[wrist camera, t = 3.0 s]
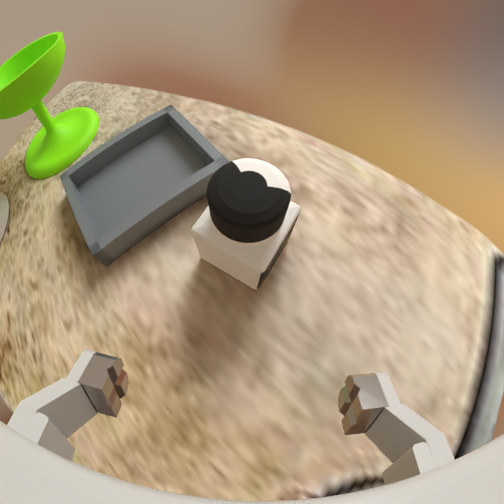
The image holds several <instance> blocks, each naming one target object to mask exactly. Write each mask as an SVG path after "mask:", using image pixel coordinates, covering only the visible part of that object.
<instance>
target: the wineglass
mask: <svg viewBox="0 0 504 504" xmlns="http://www.w3.org/2000/svg"><path fill="white" fill-rule="evenodd" d="M64 54H65V43H64V38H63V34H62V32H55V33H51V34H49V35H46V36H44V37H42V38H40V39H38V40H36V41H34V42H32V43H31V44H29V45H27V46H26V47H24V48H23V49H21V50H20V51H19V52H17V53H16V54H15V55H13V56H12V57H11V58H9V59H8V60H7V61H6V62H5V63H4V64H3V65H1V66H0V119H8V118H11V117H15V116H17V115H20V114H23V113H24V112H26V111H28V110H29V109H31V108H32V109H33V111H34V112H35V114H36V116H37V117H38V119H39V120H40V122H41V123H42V125H43V127H42V128H41V129H40V130H39V132H38V133H37V134H36V135H35V137H34V138H33V140H32V141H31V143H30V145H29V147H28V150H27V152H26V157H25V169H26V171H27V173H28V175H29V176H31V177H32V178H34V179H43V178H47V177H51V176H53V175H55V174H57V173H58V172H60V171H62V170H63V169H65V168H66V167H68V166H69V165H70V164H72V163H73V162H74V161H75V160H76V159H77V158H78V157H79V156H80V155H81V154H82V153H83V152H84V151H85V149H86V148H87V147H88V146H89V145H90V143H91V141H92V140H93V138H94V136H95V135H96V132H97V129H98V126H99V118H98V115H97V113H96V112H95V111H93V110H92V109H90V108H85V107H78V108H72V109H69V110H66V111H64V112H62V113H60V114H58V115H57V116H55V117H54V118H53V119H52V117H51V116H50V114H49V112H48V111H47V109H46V107H45V106H44V104H43V102H42V101H41V99H42V98H43V97H44V96H45V95H46V94H47V93H48V92H49V91H50V89H51V88H52V86H53V84H54V83H55V81H56V79H57V77H58V76H59V73H60V70H61V67H62V64H63V61H64Z"/></svg>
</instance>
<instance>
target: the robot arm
mask: <svg viewBox="0 0 504 504" xmlns="http://www.w3.org/2000/svg"><path fill="white" fill-rule="evenodd" d="M8 214H9V203H8V199H7V196H6V195H5V194H4V193H2V192H0V242H1V240H2V237H3V235H4V232H5V228H6V225H7V220H8ZM123 365H124V364H123V362H122V359H120V358H117V357H113V356H109V355H105V354H101V353H98V352H94V351H90V350H84V351H83V352H82V353H81V355H80V356H79V358H78V360H77V361H76V363H75V365H74V366H73V368H72V370H71V371H70V373H69V375H68V376H67V378H66V379H65V378H62V379H60V380H58V381H57V382H55V383H53V384H51V385H49V386H48V387H46V388H44V389H42V390H40V391H39V392H37V393H35V394H33V395H31V396H29V397H28V398H26V399H24V400H22V401H20V403H19V405H18V407H17V408H16V410H15V412H14V414H13V415H12V417H11V419H10V421H9V423H8V425H5V424H4V423H2V422H1V421H0V504H504V434H502V435H501V436H499V437H497V438H496V439H494V440H492V441H491V442H489V443H487V444H485V445H483V446H482V447H480V448H478V449H476V450H474V451H472V452H470V453H468V454H466V455H464V456H462V457H460V458H458V459H456V460H454V457H453V454H452V452H451V449H450V447H449V444H448V442H447V439H446V437H445V434H444V433H442V432H441V431H439V430H438V429H437V428H435V427H434V426H433V425H431V424H430V423H429V422H427V421H426V420H425V419H423V418H422V417H421V416H419V415H418V414H417V413H415V412H414V411H413V410H411V409H410V408H409V407H407V406H406V405H405V404H400V401H399V399H398V396H397V394H396V392H395V389H394V387H393V385H392V382H391V380H390V378H389V375H388V374H387V373H386V372H382V373H369V374H358V375H349V376H348V377H347V378H346V380H345V384H346V386H345V387H343V388H342V389H341V391H340V393H339V397H338V407H339V412H341V413H342V414H343V415H344V418H343V419H342V425H343V429H344V434H345V435H351V434H360V433H365V434H366V435H367V436H368V438H369V439H370V440H371V441H372V442H373V443H374V444H375V445H376V446H377V447H378V448H379V449H380V450H381V451H382V452H383V453H384V455H385V456H386V457H387V458H388V459H389V460H390V461H391V462H392V463H393V464H392V465H391V466H389V467H388V468H387V469H386V470H385V471H384V472H383V473H382V474H383V478H384V483H385V485H384V486H380V487H376V488H372V489H367V490H363V491H358V492H353V493H348V494H342V495H336V496H329V497H322V498H313V499H302V500H288V501H238V500H223V499H212V498H204V497H196V496H189V495H183V494H177V493H172V492H167V491H162V490H158V489H153V488H149V487H145V486H141V485H138V484H134V483H130V482H127V481H124V480H120V479H117V478H114V477H111V476H108V475H105V474H103V473H100V472H97V471H94V470H92V469H89V468H87V467H84V466H82V465H80V464H77V463H75V462H73V461H71V460H72V458H73V455H74V452H75V448H74V446H73V445H72V444H71V443H70V442H69V441H68V440H67V439H66V438H68V437H69V436H70V435H71V434H73V433H74V432H75V431H76V430H78V429H79V428H80V427H81V426H83V425H84V424H85V423H86V422H88V421H89V420H90V419H91V418H93V417H94V416H95V415H96V414H97V412H98V413H101V414H105V415H109V416H112V417H116V418H117V415H118V413H119V410H120V408H121V405H122V403H121V401H120V398H122V397H123V396H125V395H126V392H127V389H128V376H127V373H126V372H125V371H124V370H123V369H122V367H123Z"/></svg>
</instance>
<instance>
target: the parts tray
mask: <svg viewBox="0 0 504 504" xmlns="http://www.w3.org/2000/svg"><path fill="white" fill-rule="evenodd" d="M227 163H229V161H228V160H227V159H226V158H225V157H224V156H223V155H222V154H221V153H220V152H219V151H218V150H217V149H216V148H215V147H214V146H213V145H212V144H211V143H210V142H209V141H208V140H207V139H206V138H205V137H204V136H203V135H202V134H201V133H200V132H199V131H198V130H197V129H196V128H195V127H194V126H193V125H192V124H191V123H190V122H189V121H188V120H187V119H186V118H185V117H183V116H182V115H181V114H180V113H179V112H178V111H177V110H176V109H175V108H174V107H173V106H172V105H169V106H167V107H165V108H163V109H161V110H160V111H158V112H156V113H154V114H152V115H150V116H149V117H147V118H145V119H143V120H141V121H140V122H138V123H136V124H135V125H133V126H131V127H129V128H128V129H126V130H125V131H123V132H121V133H120V134H118V135H117V136H115V137H113V138H112V139H110V140H109V141H107V142H106V143H104V144H103V145H101V146H100V147H98V148H97V149H95V150H94V151H92V152H91V153H90V154H88V155H87V156H85V157H84V158H83V159H81V160H80V161H79V162H77V163H76V164H75V165H73V166H72V167H71V168H69V169H68V170H67V171H65V172H64V173H63V174H62V175H60V178H61V181H62V184H63V187H64V189H65V192H66V195H67V198H68V200H69V203H70V205H71V208H72V210H73V213H74V215H75V218H76V220H77V222H78V225H79V227H80V229H81V232H82V234H83V236H84V238H85V241H86V243H87V245H88V247H89V249H90V251H91V253H92V255H93V257H95V258H96V259H97V260H99V261H100V262H101V263H103V264H104V265H106V266H107V265H109V264H110V263H111V262H113V261H114V260H115V259H116V258H118V257H119V256H120V255H122V254H123V253H124V252H126V251H127V250H128V249H130V248H131V247H132V246H134V245H135V244H136V243H138V242H139V241H141V240H142V239H143V238H145V237H146V236H147V235H149V234H150V233H152V232H153V231H154V230H156V229H157V228H159V227H160V226H162V225H163V224H164V223H166V222H167V221H169V220H170V219H172V218H173V217H174V216H176V215H177V214H179V213H180V212H182V211H183V210H185V209H186V208H188V207H189V206H191V205H192V204H194V203H195V202H197V201H198V200H200V199H201V198H203V197H204V196H206V195H207V186H208V183H209V181H210V179H211V177H212V176H213V174H214V173H215V172H216V171H217V170H218V169H219V168H220V167H222V166H223V165H225V164H227Z"/></svg>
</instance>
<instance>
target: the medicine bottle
mask: <svg viewBox="0 0 504 504" xmlns="http://www.w3.org/2000/svg"><path fill="white" fill-rule="evenodd" d="M290 199H291V191H290V186H289V183H288V181H287V179H286V177H285V176H284V175H283V173H282V172H281V171H280V170H278V169H277V168H276V167H275V166H273V165H271V164H269V163H267V162H265V161H262V160H258V159H251V158H246V159H238V160H234V161H231V162H229V163H227V164H225V165H223V166H222V167H220V168H219V169H218V170H217V171H216V172H215V173H214V174H213V176H212V177H211V179H210V181H209V183H208V186H207V200H208V207H207V208H206V209H205V211H204V212H203V213H202V215H201V216H200V217H199V219H198V220H197V221H196V223H195V224H194V226H193V227H192V229H191V233H192V235H193V238H194V241H195V243H196V246H197V248H198V251H199V254H200V256H201V258H202V259H204V260H206V261H207V262H209V263H211V264H212V265H214V266H216V267H217V268H219V269H221V270H222V271H224V272H226V273H227V274H229V275H231V276H232V277H234V278H236V279H237V280H239V281H241V282H242V283H244V284H246V285H248V286H249V287H251V288H253V289H254V290H258V289H259V288H260V287H261V285H262V283H263V282H264V280H265V278H266V277H267V275H268V273H269V271H270V270H271V268H272V266H273V265H274V263H275V261H276V260H277V258H278V256H279V255H280V253H281V251H282V249H283V248H284V246H285V244H286V243H287V241H288V239H289V237H290V235H291V232H292V230H293V227H294V225H295V223H296V220H297V218H298V215H299V213H300V210H301V208H300V206H299V205H297V204H295V203H293V202H292V201H290Z"/></svg>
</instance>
